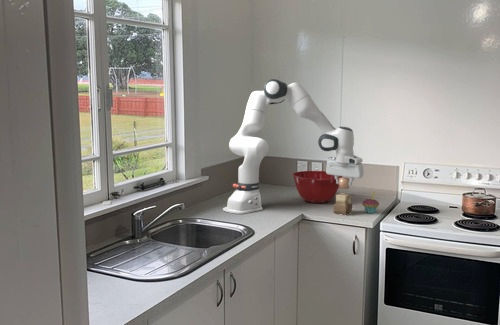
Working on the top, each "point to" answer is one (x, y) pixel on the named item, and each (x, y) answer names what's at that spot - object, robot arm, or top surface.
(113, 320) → the top surface
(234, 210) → the robot arm
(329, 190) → the mixing bowl
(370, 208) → the cupcake
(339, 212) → the tower base
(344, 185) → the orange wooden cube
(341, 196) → the tower top
